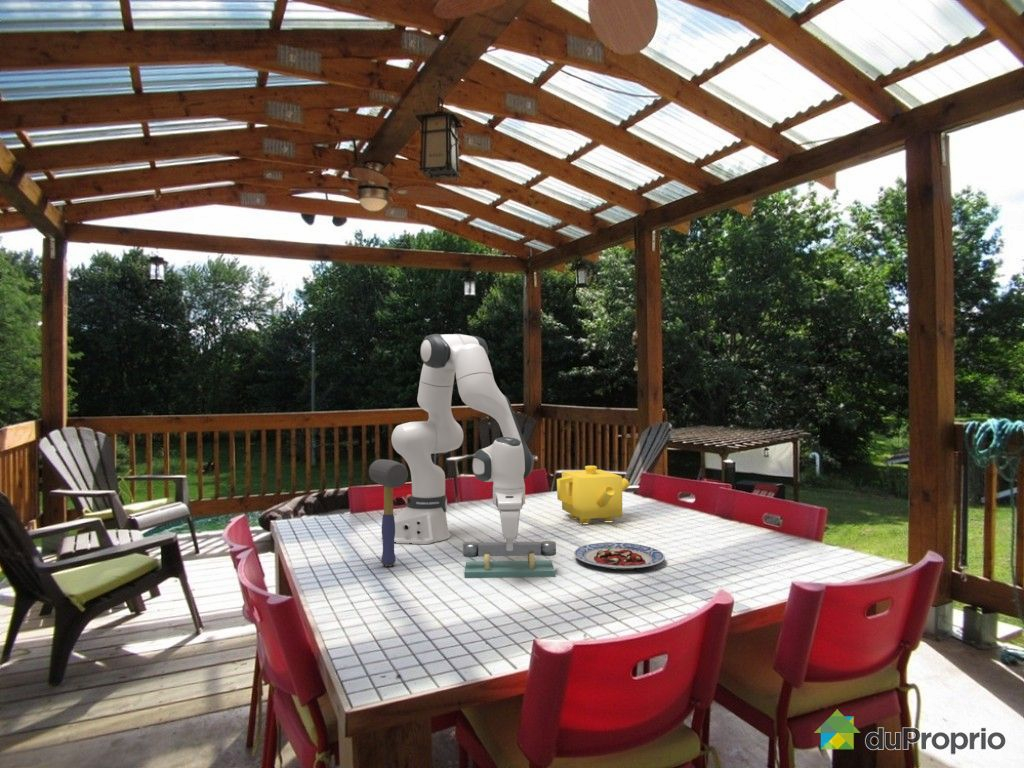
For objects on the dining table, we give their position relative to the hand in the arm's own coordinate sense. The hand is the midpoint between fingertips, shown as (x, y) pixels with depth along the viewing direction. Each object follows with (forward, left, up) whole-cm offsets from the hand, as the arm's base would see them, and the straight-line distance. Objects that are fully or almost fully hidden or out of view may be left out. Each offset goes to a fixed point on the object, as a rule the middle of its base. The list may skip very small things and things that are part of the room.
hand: (509, 548), depth 168 cm
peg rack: (0, 0, -6) cm, 6 cm away
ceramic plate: (+32, +9, -7) cm, 34 cm away
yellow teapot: (+34, +64, -7) cm, 73 cm away
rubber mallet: (-34, +7, -7) cm, 35 cm away
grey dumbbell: (0, 0, -2) cm, 2 cm away
